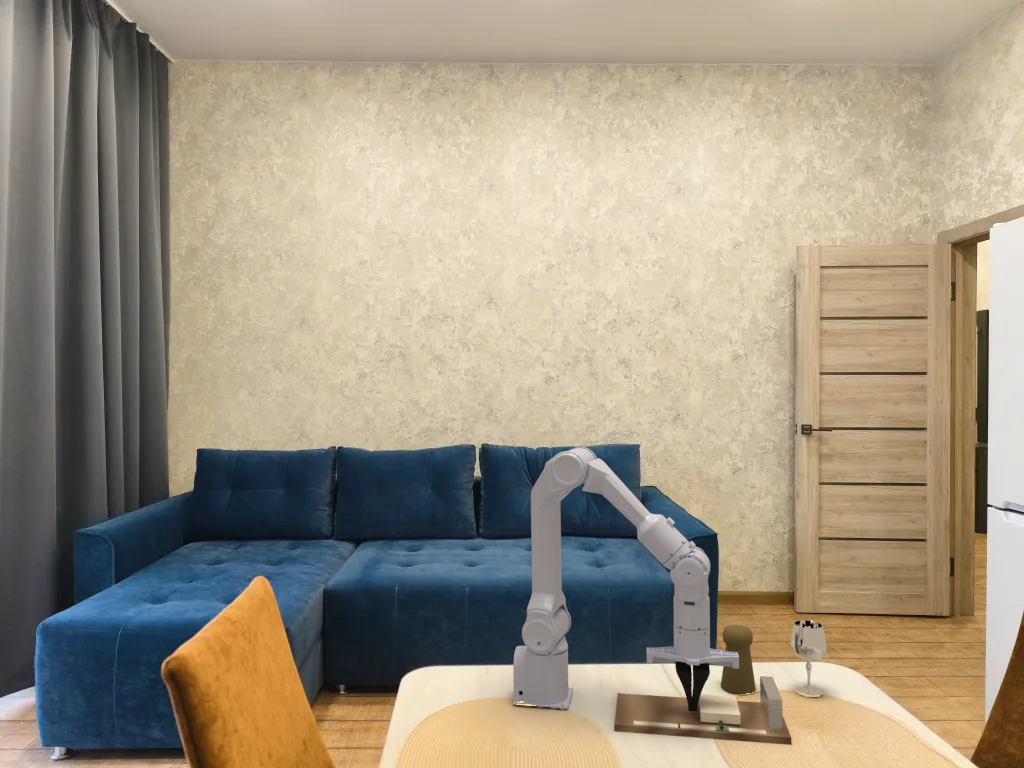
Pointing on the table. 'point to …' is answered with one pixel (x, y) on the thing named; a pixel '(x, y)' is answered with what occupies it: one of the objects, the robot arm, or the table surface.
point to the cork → (743, 677)
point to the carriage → (719, 709)
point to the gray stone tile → (771, 704)
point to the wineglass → (808, 648)
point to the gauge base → (691, 720)
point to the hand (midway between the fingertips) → (692, 708)
